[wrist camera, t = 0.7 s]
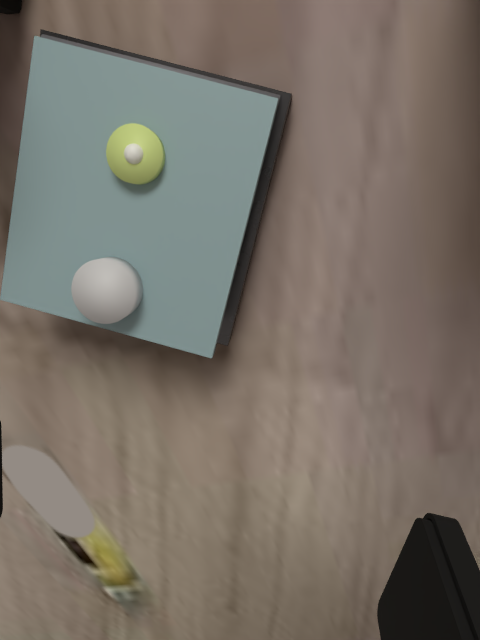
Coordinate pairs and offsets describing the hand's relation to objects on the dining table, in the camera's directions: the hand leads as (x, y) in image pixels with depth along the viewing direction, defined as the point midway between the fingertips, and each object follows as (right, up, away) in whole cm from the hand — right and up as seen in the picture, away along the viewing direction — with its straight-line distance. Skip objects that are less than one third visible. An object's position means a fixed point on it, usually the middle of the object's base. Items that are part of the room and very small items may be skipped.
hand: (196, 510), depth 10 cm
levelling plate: (-7, +13, +25) cm, 29 cm away
